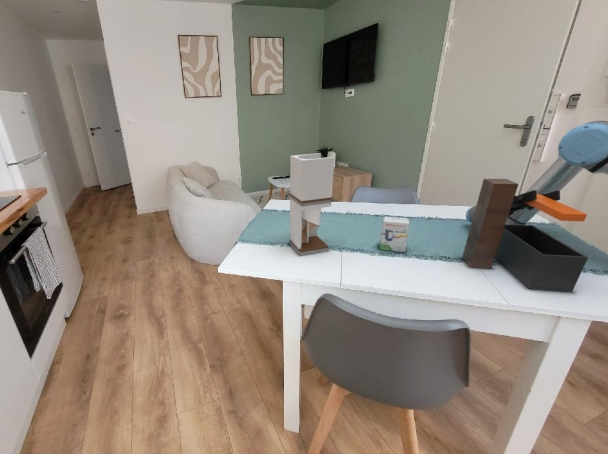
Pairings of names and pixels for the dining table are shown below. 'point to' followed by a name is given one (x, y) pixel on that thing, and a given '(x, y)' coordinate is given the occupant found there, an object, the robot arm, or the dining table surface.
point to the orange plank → (556, 209)
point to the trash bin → (539, 259)
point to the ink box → (394, 234)
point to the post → (489, 222)
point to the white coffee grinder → (309, 200)
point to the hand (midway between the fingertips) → (546, 194)
